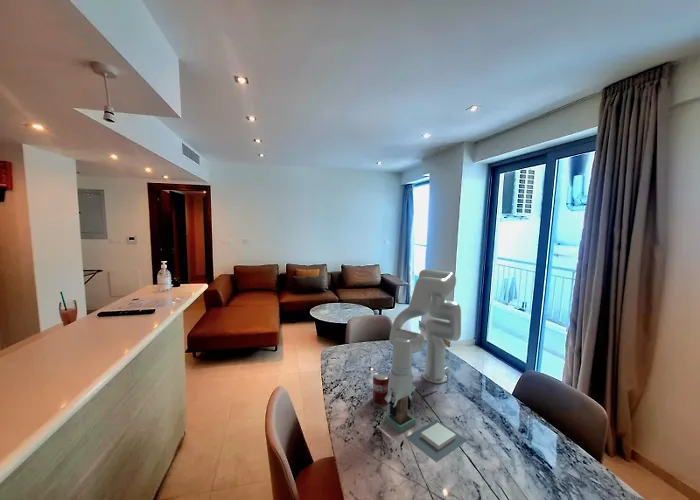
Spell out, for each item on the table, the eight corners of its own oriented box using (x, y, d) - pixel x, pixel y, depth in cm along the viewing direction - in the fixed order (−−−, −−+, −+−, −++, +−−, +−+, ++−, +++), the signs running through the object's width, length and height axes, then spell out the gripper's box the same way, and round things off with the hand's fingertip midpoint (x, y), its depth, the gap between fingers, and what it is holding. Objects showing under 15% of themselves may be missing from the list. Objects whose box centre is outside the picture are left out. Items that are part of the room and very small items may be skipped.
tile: (438, 422, 115) (421, 432, 110) (455, 434, 109) (438, 445, 103) (437, 426, 115) (420, 436, 110) (455, 438, 109) (438, 450, 103)
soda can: (388, 407, 128) (388, 381, 127) (371, 405, 130) (372, 378, 129) (389, 397, 135) (389, 372, 134) (373, 395, 137) (374, 371, 136)
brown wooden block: (399, 418, 120) (400, 390, 119) (407, 423, 117) (408, 395, 116) (392, 421, 118) (393, 393, 117) (399, 427, 114) (400, 398, 113)
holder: (399, 414, 123) (399, 408, 123) (415, 426, 116) (415, 419, 116) (384, 422, 118) (384, 415, 118) (399, 434, 111) (400, 427, 111)
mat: (436, 420, 120) (436, 419, 120) (467, 441, 108) (467, 440, 108) (405, 438, 109) (405, 437, 109) (436, 463, 98) (436, 462, 98)
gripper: (409, 359, 123) (408, 399, 125) (378, 370, 113) (377, 414, 115) (423, 366, 117) (422, 408, 119) (392, 378, 107) (390, 424, 109)
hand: (400, 411), depth 117 cm, fingers open, 7 cm apart
